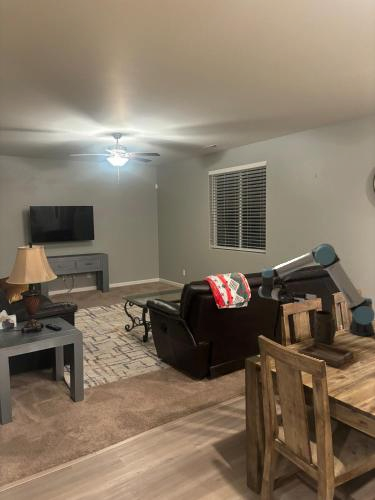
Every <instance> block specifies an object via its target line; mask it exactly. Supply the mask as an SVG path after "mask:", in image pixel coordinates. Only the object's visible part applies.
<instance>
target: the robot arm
mask: <svg viewBox="0 0 375 500" xmlns="http://www.w3.org/2000/svg"><path fill="white" fill-rule="evenodd" d="M313 264H319V265H320V266H321V269H323V270H324V271H327V272H328V274H329V276H330V277H331V279H332V280H333V282H334V284H335V285H336V287H337V288H338V290H339V292H340V293H341V295H342V296H343V298H344V299H345V300H346V302H347V304H348V305H347V309H348V310H349V312H350V313H351V322H350V324H349V326H348V332H349V333H350V334H352V335H355V336H360V337H371V336H374V335H375V328H374V325H373V321H374V320H375V310H374V309H373V299H372V298H369V297H363V296H361V294H360V293H359V291H358V289H357V288H356V287H355V285H354V283H353V282H352V280H351V279H350V278H349V276H348V274H347V273H346V271H345V270H344V268H343V267H342V265H341V258H340V257H339V256H338V254H337V252H336V250H335V248H334V246H333V245H331V244H328V243H322V244H320V245H319V246H317V247H315V248H312V249H311V250H310V251H309V252H308V253H305V254H303V255H300V256H298V257H296V258H293V259H291V260H288V261H287V262H284V263H282V264H279V265H277V266H275V267H273V268H263V269H262V271H261V279H262V280H261V281H262V283H261V286H259V288H258V291H257V293H258V295H259V297H261V298H265V299H271V300H275V301H281V302H288V303H290V304H291V303H292V304H302V305H305V304H306V300H307V299H308V300H313V301H314V300H315V301H317V295H315V294H309V293H308V292H295V291H294V292H289V291H288V289H284V288H278V287H275V286H274V281H275V280H276V279H278V278H280V277H283V276H285V275H288V274H291V273H293V272H295V271H298V270H300V269H302V268H305V267H307V266H310V265H313ZM305 299H306V300H305Z"/></svg>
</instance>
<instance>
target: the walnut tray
mask: <svg viewBox="0 0 375 500" xmlns="http://www.w3.org/2000/svg"><path fill="white" fill-rule="evenodd" d="M298 353H300V354H304V355H307V356H310V357H313V358H316V359H319V360H324V361H325V362H326V366H329V367H331V368H332V367H333V368H337V369H338V368H340V367H341V366H343V365H344V364H346V363H347V362H349V361H351V360H352V359H354V351H353V350H348V349H345V348H340V347H336V346H334V345H333V346H329V345H325V344H321V343H318V342H314V341H312V343H309V344H308V345H305V346H304V347H302V348H300V349H298V350H297V354H298Z"/></svg>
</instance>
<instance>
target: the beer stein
mask: <svg viewBox="0 0 375 500" xmlns="http://www.w3.org/2000/svg"><path fill="white" fill-rule="evenodd" d="M333 317H334V316H333V312H331V311H328V310H316V311H314V323H313V328H314V329H313V340H314V341H313V342H318V343H321V344H325V345H329V346H333V347H334V344H335V336H336V333H337V330H336V329H337V328H336V322H335V318H333Z"/></svg>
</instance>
